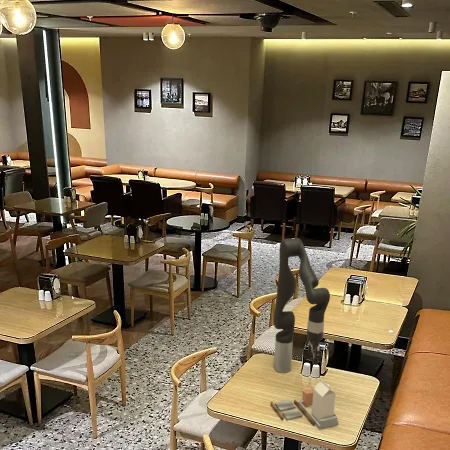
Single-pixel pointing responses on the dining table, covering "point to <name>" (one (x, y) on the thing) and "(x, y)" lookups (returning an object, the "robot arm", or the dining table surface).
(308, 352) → the robot arm
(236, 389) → the dining table surface
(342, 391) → the dining table surface
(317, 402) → the milk carton
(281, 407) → the board
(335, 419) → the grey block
